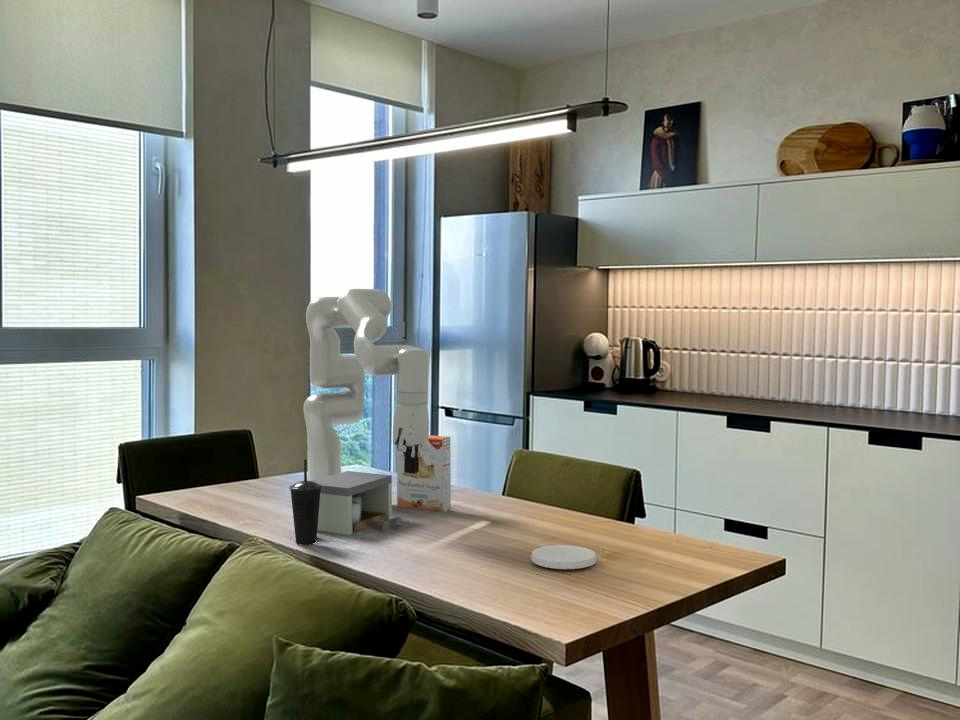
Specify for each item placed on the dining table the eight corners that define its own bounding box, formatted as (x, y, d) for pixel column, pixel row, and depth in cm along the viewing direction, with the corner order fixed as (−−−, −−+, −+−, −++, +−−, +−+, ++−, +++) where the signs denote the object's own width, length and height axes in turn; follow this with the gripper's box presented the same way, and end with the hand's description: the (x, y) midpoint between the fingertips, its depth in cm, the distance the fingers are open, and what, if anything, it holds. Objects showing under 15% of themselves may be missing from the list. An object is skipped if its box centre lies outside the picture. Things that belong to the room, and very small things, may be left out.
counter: (348, 517, 241) (347, 470, 241) (428, 527, 230) (427, 479, 229) (302, 532, 224) (302, 483, 224) (386, 544, 213) (386, 492, 212)
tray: (348, 518, 238) (348, 506, 238) (409, 526, 229) (409, 514, 229) (315, 529, 226) (315, 517, 226) (378, 538, 217) (378, 525, 217)
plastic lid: (545, 553, 206) (545, 542, 206) (604, 560, 200) (604, 549, 200) (521, 569, 194) (521, 557, 194) (583, 577, 188) (583, 565, 188)
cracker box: (396, 510, 249) (395, 435, 248) (406, 506, 254) (405, 433, 253) (442, 515, 243) (442, 438, 242) (451, 510, 249) (451, 435, 248)
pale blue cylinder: (347, 524, 228) (347, 500, 228) (363, 526, 227) (363, 502, 226) (337, 528, 224) (337, 504, 224) (353, 530, 222) (353, 506, 222)
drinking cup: (328, 539, 217) (327, 457, 216) (312, 547, 210) (311, 463, 209) (300, 537, 220) (299, 456, 219) (283, 545, 213) (282, 461, 212)
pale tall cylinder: (350, 517, 236) (350, 494, 236) (365, 519, 234) (365, 496, 234) (339, 521, 232) (338, 498, 232) (354, 523, 230) (354, 499, 229)
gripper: (415, 394, 228) (414, 465, 230) (382, 400, 215) (381, 476, 217) (441, 396, 225) (439, 468, 226) (409, 403, 212) (408, 479, 213)
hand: (411, 472), depth 221 cm, fingers closed
